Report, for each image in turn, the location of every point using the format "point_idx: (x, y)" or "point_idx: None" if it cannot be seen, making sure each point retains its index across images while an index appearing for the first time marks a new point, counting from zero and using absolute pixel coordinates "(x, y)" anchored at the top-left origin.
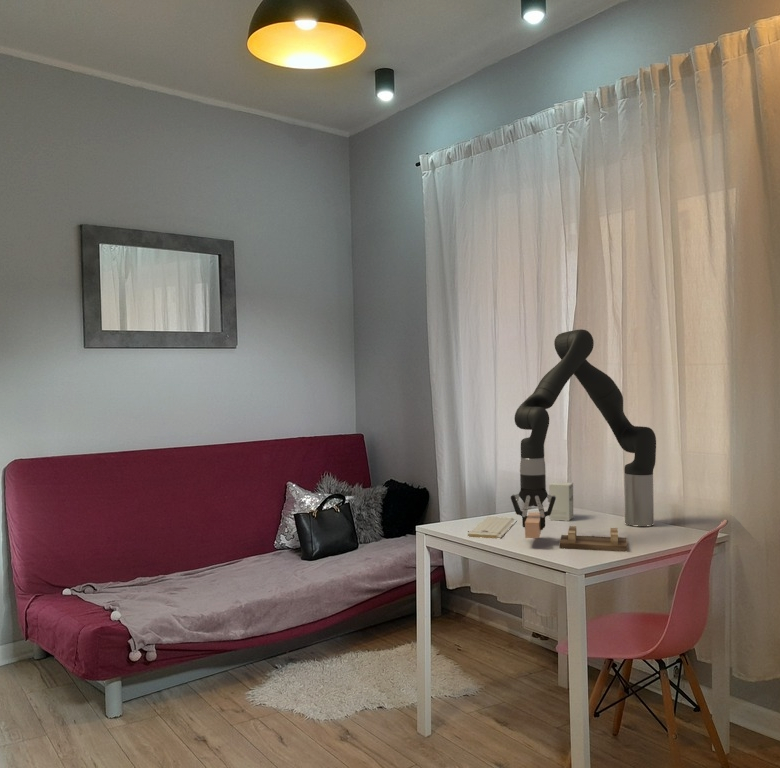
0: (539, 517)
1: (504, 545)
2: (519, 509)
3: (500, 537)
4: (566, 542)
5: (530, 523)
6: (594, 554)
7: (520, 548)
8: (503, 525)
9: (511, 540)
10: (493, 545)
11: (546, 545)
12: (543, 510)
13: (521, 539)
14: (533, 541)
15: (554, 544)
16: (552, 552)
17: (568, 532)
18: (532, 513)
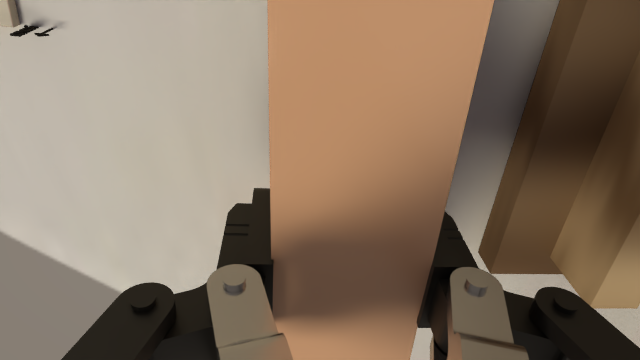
0: (415, 282)
1: (133, 243)
2: (151, 344)
3: (11, 25)
4: (542, 251)
5: None
6: (623, 328)
7: None
8: None
9: (137, 83)
10: (61, 255)
11: None
12: (497, 340)
13: (213, 26)
14: None
15: (468, 159)
16: (423, 331)
17: (594, 304)
18: (333, 27)
